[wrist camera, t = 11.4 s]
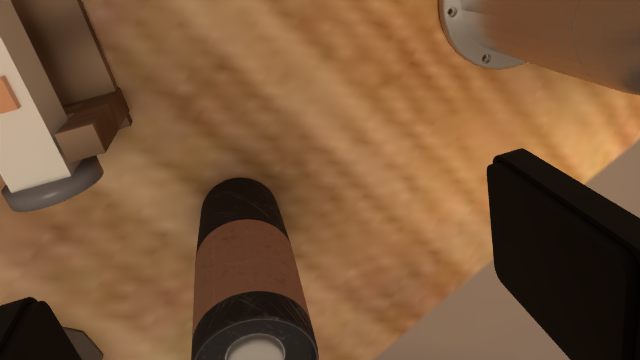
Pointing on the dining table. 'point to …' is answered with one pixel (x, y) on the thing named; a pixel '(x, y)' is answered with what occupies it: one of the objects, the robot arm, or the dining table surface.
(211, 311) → the travel mug
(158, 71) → the dining table surface
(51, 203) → the white bar grey caps
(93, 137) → the walnut rack
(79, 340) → the coffeepot
